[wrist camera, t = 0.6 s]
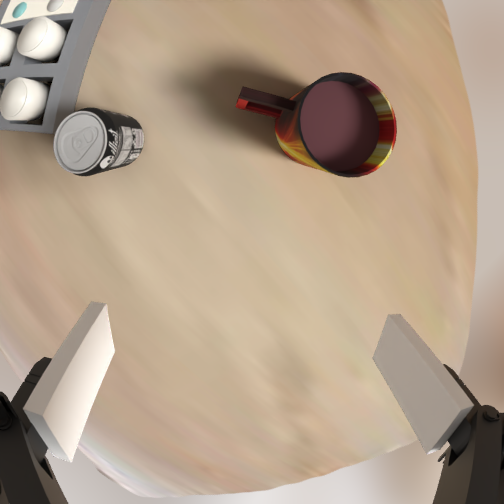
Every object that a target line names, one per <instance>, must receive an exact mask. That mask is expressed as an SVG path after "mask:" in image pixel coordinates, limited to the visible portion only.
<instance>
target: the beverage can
mask: <svg viewBox="0 0 504 504" xmlns="http://www.w3.org/2000/svg"><path fill="white" fill-rule="evenodd" d="M143 144H144V134H143V130H142V127H141V126H140V124H139V123H138V122H137V121H136V120H135V119H134V118H132V117H130V116H127V115H123V114H119V113H115V112H110V111H106V110H102V109H97V108H84V109H81V110H79V111H77V112H74V113H72V114H70V115H69V116H67V117H66V118H65V119H64V120H63V121H62V122H61V124H60V125H59V127H58V129H57V131H56V133H55V137H54V143H53V146H54V154H55V157H56V160H57V161H58V163H59V164H60V166H61V167H62V168H63V169H65V170H66V171H68V172H71V173H73V174H76V175H79V176H90V175H94V174H97V173H101V172H105V171H108V170H112V169H116V168H119V167H123V166H126V165H129V164H130V163H132V162H133V161H134V160H135V159H136V158H137V157H138V156H139V154H140V153H141V150H142V148H143Z"/></svg>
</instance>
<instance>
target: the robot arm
mask: <svg viewBox="0 0 504 504" xmlns="http://www.w3.org/2000/svg"><path fill="white" fill-rule="evenodd" d="M114 352H115V350H114V345H113V339H112V334H111V329H110V323H109V317H108V311H107V304H106V303H100V302H91V303H90V304H89V306H88V307H87V308H86V310H85V311H84V313H83V314H82V315H81V317H80V318H79V320H78V321H77V323H76V324H75V326H74V327H73V328H72V330H71V331H70V333H69V334H68V336H67V337H66V339H65V340H64V342H63V343H62V345H61V346H60V348H59V349H58V351H57V353H56V354H55V356H54V357H53V359H51V358H47V357H44V358H42V359H41V360H40V361H38V362H37V363H36V364H35V365H34V366H33V368H32V369H31V371H30V372H29V375H27V377H26V378H25V382H23V383H22V385H21V386H20V388H19V390H18V391H17V393H16V395H15V396H14V398H13V400H12V401H11V403H10V401H9V400H8V397H7V396H6V395H5V394H4V393H3V392H0V504H68V502H67V500H66V498H65V496H64V494H63V492H62V490H61V488H60V486H59V484H58V482H57V480H56V478H55V475H54V473H53V471H52V469H51V466H50V464H49V462H48V459H47V458H46V457H45V454H46V451H47V449H49V451H50V452H51V453H52V455H53V456H54V457H57V458H60V459H63V460H66V461H69V462H72V460H73V457H74V454H75V451H76V448H77V445H78V442H79V439H80V437H81V434H82V431H83V428H84V426H85V423H86V420H87V418H88V415H89V412H90V410H91V407H92V405H93V402H94V400H95V397H96V395H97V392H98V390H99V387H100V385H101V382H102V380H103V378H104V375H105V373H106V371H107V368H108V366H109V364H110V361H111V359H112V357H113V355H114ZM373 360H374V362H375V364H376V365H377V367H378V369H379V370H380V372H381V374H382V375H383V377H384V379H385V380H386V382H387V384H388V386H389V387H390V389H391V391H392V393H393V394H394V396H395V398H396V400H397V401H398V403H399V405H400V407H401V408H402V410H403V412H404V414H405V416H406V417H407V419H408V421H409V423H410V425H411V426H412V428H413V430H414V432H415V434H416V435H417V437H418V439H419V441H420V443H421V445H422V447H423V448H424V450H425V452H426V454H429V453H432V452H435V451H437V450H440V449H441V448H442V447H443V445H444V444H445V443H446V442H447V441H448V442H449V444H450V446H449V447H448V449H447V450H446V451H445V452H444V453H443V454H442V455H441V456H440V458H439V459H438V462H440V461H441V460H442V459H443V458H444V457H445V460H444V462H443V463H444V465H443V469H442V473H441V477H440V480H439V484H438V488H437V491H436V495H435V498H434V501H433V504H504V413H499V412H498V410H496V409H495V408H494V407H492V406H489V405H483V406H481V405H480V404H479V402H478V401H477V400H476V398H475V397H474V396H473V394H472V393H471V392H470V390H469V389H468V388H467V387H466V385H464V383H463V382H462V380H461V379H459V377H458V375H457V374H456V373H455V372H454V370H452V369H451V368H450V367H448V366H447V365H446V364H442V363H441V362H440V360H439V359H438V358H437V357H436V356H435V354H434V353H433V352H432V351H431V349H430V348H429V347H428V346H427V345H426V343H425V342H424V341H423V340H422V339H421V338H420V336H419V335H418V334H417V333H416V332H415V330H414V329H413V328H412V327H411V326H410V325H409V323H408V322H407V321H406V320H405V319H404V318H403V317H402V315H401V314H392V315H388V317H387V320H386V322H385V325H384V328H383V331H382V334H381V337H380V339H379V342H378V345H377V347H376V350H375V353H374V355H373Z"/></svg>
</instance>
